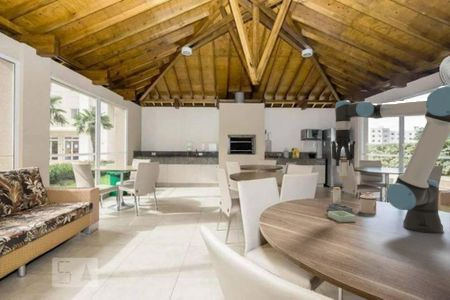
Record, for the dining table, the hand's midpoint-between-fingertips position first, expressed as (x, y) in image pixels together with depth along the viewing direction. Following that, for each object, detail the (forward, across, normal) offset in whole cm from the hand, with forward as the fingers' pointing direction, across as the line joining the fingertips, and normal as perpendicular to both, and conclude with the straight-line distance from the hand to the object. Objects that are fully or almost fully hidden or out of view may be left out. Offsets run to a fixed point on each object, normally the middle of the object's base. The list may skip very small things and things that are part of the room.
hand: (343, 171), depth 149 cm
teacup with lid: (+25, -20, -8) cm, 33 cm away
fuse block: (+24, -3, -9) cm, 26 cm away
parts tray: (+24, +4, +6) cm, 25 cm away
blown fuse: (+3, 0, 0) cm, 3 cm away
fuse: (+22, -3, -12) cm, 26 cm away
